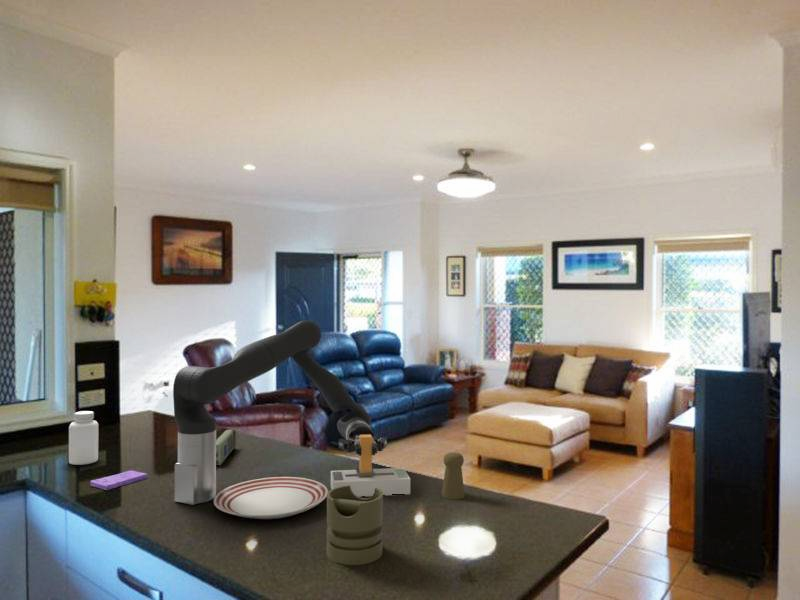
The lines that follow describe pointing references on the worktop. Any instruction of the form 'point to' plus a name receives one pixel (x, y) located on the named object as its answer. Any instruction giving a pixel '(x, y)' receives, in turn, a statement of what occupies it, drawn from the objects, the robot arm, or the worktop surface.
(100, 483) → the sponges
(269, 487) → the dinner plate
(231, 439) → the handheld radio
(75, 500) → the worktop surface
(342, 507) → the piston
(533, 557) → the worktop surface
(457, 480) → the olive pawn figure
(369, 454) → the handle
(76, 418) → the pill bottle
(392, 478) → the box
